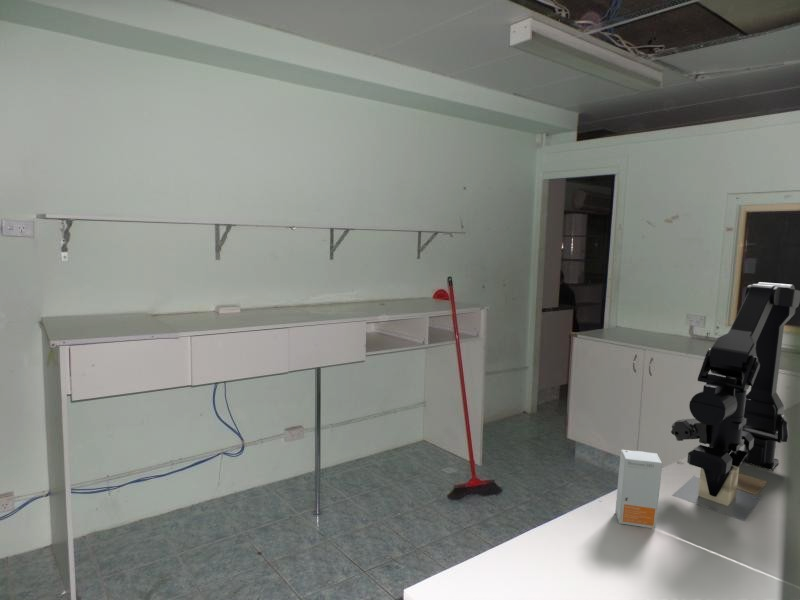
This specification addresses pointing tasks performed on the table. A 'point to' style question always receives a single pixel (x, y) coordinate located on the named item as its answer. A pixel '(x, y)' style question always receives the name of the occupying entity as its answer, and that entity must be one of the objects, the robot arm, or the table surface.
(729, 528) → the table surface
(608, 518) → the table surface
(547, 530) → the table surface
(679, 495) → the tile
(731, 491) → the birch block
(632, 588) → the table surface
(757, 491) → the pad
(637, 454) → the skincare box
